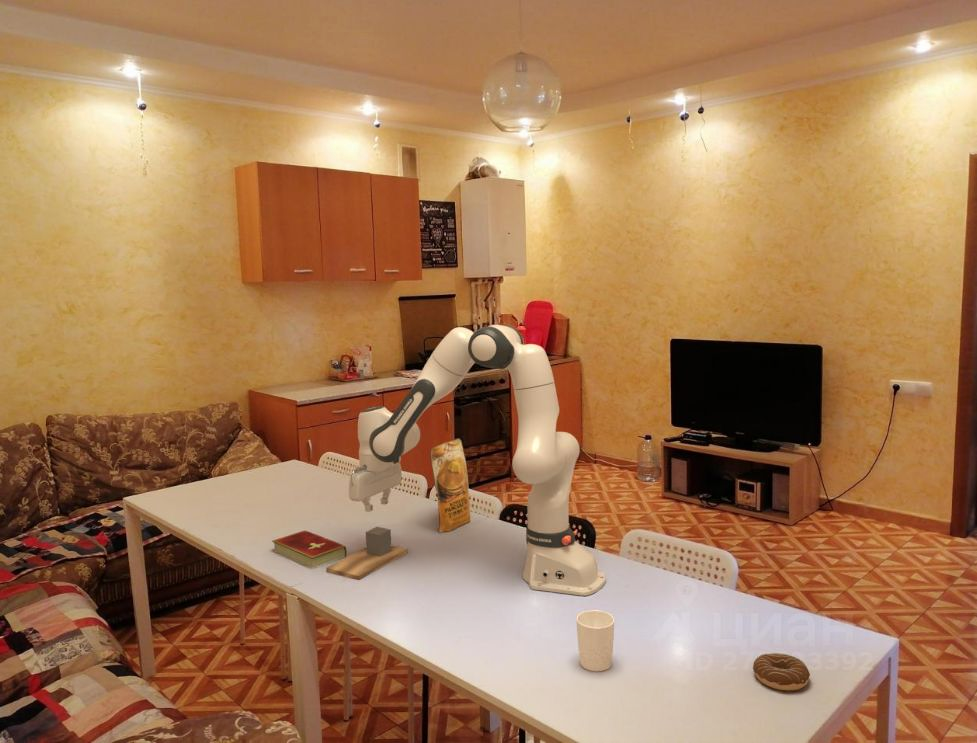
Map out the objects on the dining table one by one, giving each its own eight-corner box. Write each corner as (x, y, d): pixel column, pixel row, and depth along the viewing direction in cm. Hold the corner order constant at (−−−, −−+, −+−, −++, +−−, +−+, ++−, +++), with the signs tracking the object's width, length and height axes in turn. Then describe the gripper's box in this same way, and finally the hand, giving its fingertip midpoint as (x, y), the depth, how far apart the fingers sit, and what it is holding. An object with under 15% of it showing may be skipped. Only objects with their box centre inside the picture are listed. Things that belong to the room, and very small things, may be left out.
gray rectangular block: (391, 550, 215) (390, 529, 214) (380, 556, 211) (379, 535, 210) (377, 547, 218) (376, 526, 217) (366, 553, 214) (365, 532, 213)
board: (407, 552, 217) (407, 548, 216) (359, 580, 198) (358, 576, 198) (376, 545, 223) (376, 542, 223) (326, 571, 204) (326, 567, 204)
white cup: (610, 652, 157) (610, 609, 156) (618, 672, 149) (617, 627, 148) (574, 654, 157) (573, 610, 156) (580, 674, 149) (579, 628, 148)
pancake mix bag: (426, 531, 234) (422, 447, 230) (462, 515, 249) (460, 435, 245) (442, 536, 230) (439, 450, 226) (478, 518, 245) (476, 438, 241)
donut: (789, 701, 138) (790, 682, 138) (741, 677, 147) (742, 659, 146) (820, 682, 144) (820, 663, 144) (772, 660, 153) (772, 642, 152)
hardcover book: (306, 541, 229) (305, 528, 228) (346, 558, 215) (346, 544, 214) (273, 552, 220) (272, 539, 220) (312, 570, 206) (311, 556, 206)
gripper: (359, 471, 200) (361, 519, 202) (404, 454, 218) (406, 499, 220) (342, 469, 203) (344, 516, 205) (387, 452, 221) (389, 496, 223)
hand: (376, 507), depth 213 cm, fingers open, 6 cm apart
